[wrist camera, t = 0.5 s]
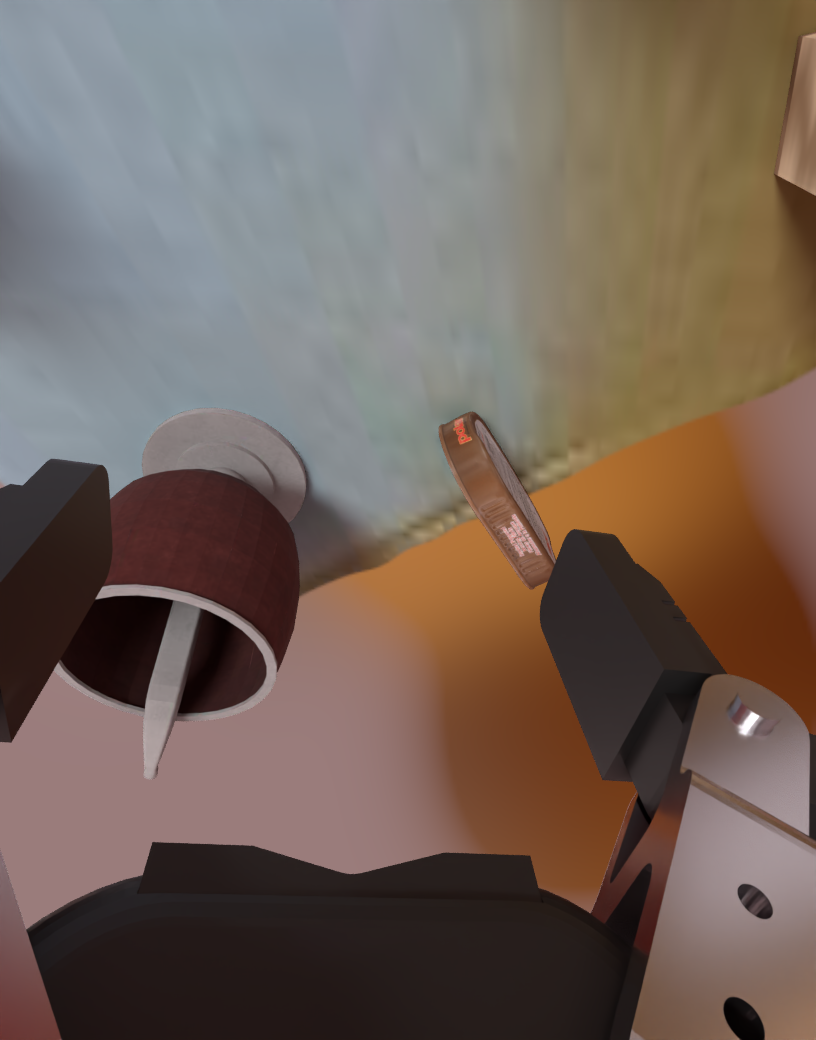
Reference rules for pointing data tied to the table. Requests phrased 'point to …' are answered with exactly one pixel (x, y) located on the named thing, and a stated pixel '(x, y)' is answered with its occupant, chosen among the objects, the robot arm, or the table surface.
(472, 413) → the tin
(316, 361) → the table surface
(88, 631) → the mate gourd
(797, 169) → the block
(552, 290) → the table surface
